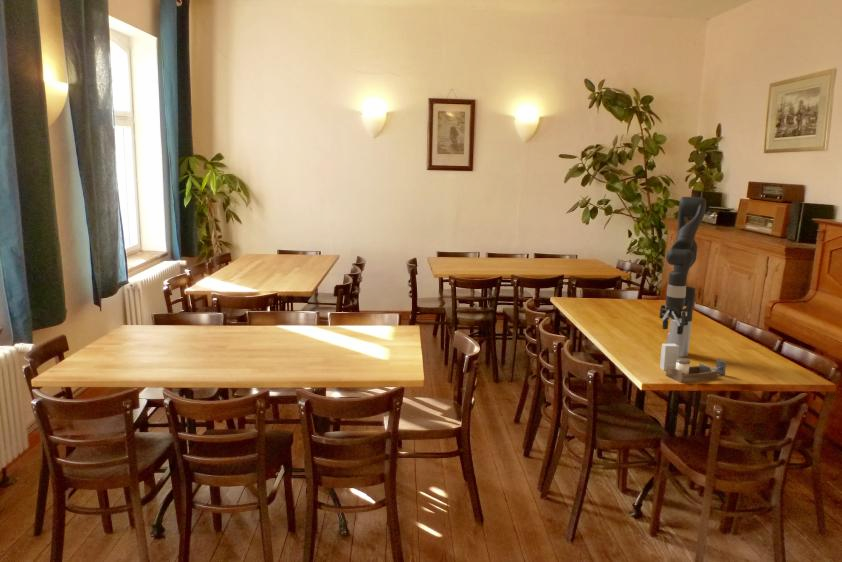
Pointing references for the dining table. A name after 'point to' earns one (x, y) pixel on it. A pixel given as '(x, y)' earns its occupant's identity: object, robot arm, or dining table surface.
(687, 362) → the stoneware jar
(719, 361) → the pusher
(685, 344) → the robot arm
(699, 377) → the grey brown tray
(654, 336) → the dining table surface
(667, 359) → the skincare box
